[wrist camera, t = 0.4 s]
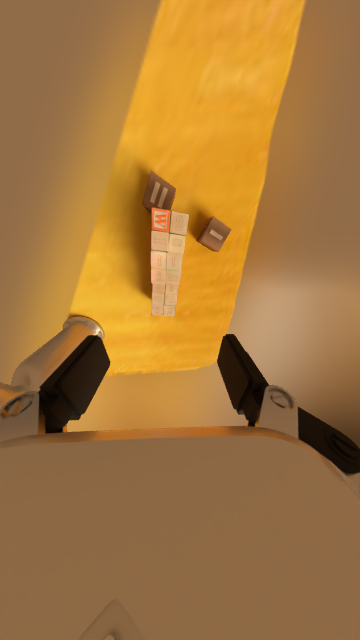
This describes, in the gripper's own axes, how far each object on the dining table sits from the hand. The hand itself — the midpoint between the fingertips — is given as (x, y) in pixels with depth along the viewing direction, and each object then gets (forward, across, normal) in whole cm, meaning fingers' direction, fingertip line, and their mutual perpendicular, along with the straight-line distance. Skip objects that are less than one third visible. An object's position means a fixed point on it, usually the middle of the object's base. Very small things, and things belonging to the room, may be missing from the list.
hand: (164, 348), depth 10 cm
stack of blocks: (+32, +1, -1) cm, 32 cm away
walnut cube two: (+32, +2, -15) cm, 35 cm away
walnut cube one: (+32, -10, -9) cm, 35 cm away
